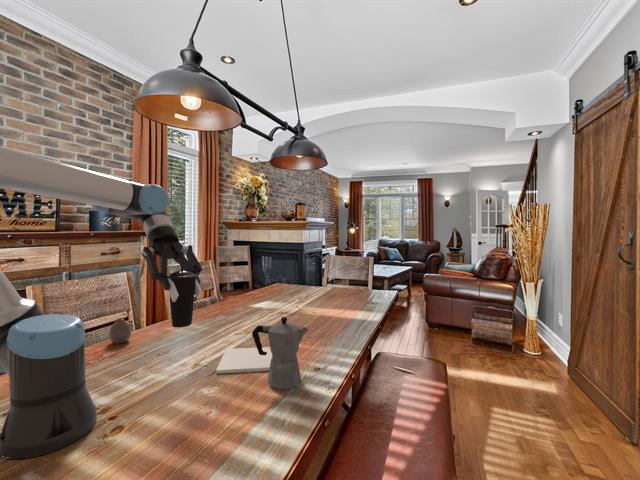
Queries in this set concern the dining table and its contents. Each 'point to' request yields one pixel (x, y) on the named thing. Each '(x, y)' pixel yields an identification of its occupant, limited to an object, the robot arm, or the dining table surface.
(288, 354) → the coffeepot
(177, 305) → the drinking cup
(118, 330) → the grey rounded lump
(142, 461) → the dining table surface
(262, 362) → the tile
